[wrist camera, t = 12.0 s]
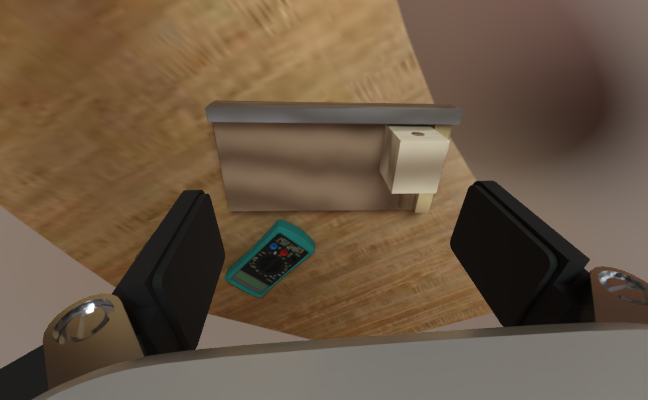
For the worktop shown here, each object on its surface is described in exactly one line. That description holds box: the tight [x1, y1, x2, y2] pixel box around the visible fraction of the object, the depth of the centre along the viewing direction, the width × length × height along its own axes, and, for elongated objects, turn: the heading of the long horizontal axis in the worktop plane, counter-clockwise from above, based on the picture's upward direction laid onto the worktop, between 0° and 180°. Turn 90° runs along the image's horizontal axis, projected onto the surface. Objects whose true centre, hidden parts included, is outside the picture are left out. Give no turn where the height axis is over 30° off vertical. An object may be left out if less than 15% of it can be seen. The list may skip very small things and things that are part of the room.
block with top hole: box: [379, 124, 450, 209], centre depth 32 cm, size 9×5×6 cm, turn 179°
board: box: [205, 101, 463, 213], centre depth 35 cm, size 14×28×4 cm, turn 89°
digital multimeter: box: [225, 220, 315, 298], centre depth 43 cm, size 7×15×3 cm, turn 136°
